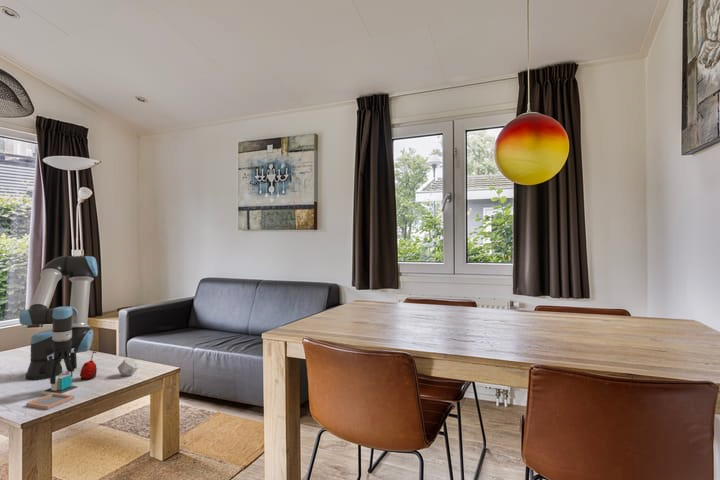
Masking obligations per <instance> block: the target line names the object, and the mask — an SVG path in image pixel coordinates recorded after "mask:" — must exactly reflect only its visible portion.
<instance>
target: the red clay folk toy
mask: <svg viewBox="0 0 720 480" xmlns="http://www.w3.org/2000/svg"><path fill="white" fill-rule="evenodd" d="M96 353H97V351H96V349H94V350H93V351H92V355H91V356H90V357H91V359H90V360H89V361H87V362H85V363H83V365H82V367H81V369H80V372H79V376H80V381H89V380H92V379H95V378H96V377H97V372H98V371H97V370H98V367H97V363H95V362H94V360H93V358H94V356H93V355H94V354H96Z"/></svg>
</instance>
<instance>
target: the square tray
mask: <svg viewBox="0 0 720 480" xmlns="http://www.w3.org/2000/svg"><path fill="white" fill-rule="evenodd" d="M72 400H75V395H74V394H73V395H72V394H59V393H52V394H49V395H44V396H42V397H39V398H37V399H34V400H31V401H28V402H26V407H27V408H28V407H29V408H35V409H41V410H47V411H48V410H52V409H53V408H55V407H58V406H61V405H63V404H65V403H68V402H70V401H72Z"/></svg>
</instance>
